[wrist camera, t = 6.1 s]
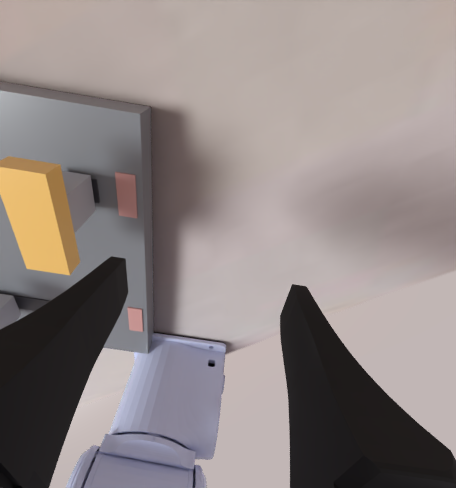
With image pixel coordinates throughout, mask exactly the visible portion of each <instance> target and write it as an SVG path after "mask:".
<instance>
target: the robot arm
mask: <svg viewBox="0 0 456 488" xmlns="http://www.w3.org/2000/svg"><path fill="white" fill-rule="evenodd" d="M127 295H128V281H127V270H126V258H119V257H113V256H111V257H110V258H108V259H107V260H106V261H104V262H103V263H102V264H100V265H99V266H98V267H97V268H95V269H94V270H93V271H91V272H90V273H89V274H87V275H86V276H85V277H84V278H82V279H81V280H80V281H78V282H77V283H75V284H74V285H73V286H71V287H70V288H69V289H67V290H66V291H64V292H63V293H61V294H60V295H58V296H57V297H55V298H54V299H53V300H51V301H50V302H48V303H46V304H45V305H43V306H42V307H40V308H39V309H37V310H35V311H33V312H32V313H30V314H28V315H27V316H25V317H23V318H21V319H19V320H18V321H16V322H14V323H12V324H10V325H8V326H6V327H4V328H2V329H0V488H49V486H50V482H51V479H52V476H53V473H54V470H55V467H56V464H57V461H58V458H59V455H60V452H61V449H62V446H63V444H64V441H65V438H66V435H67V432H68V430H69V427H70V424H71V421H72V418H73V416H74V413H75V411H76V408H77V406H78V403H79V400H80V398H81V395H82V393H83V390H84V388H85V385H86V383H87V380H88V378H89V375H90V373H91V371H92V368H93V366H94V364H95V362H96V360H97V358H98V356H99V354H100V352H101V350H102V349H103V347H104V345H105V343H106V341H107V339H108V337H109V335H110V333H111V331H112V330H113V328H114V326H115V324H116V322H117V320H118V318H119V316H120V314H121V311H122V309H123V306H124V304H125V301H126V298H127ZM280 332H281V345H282V351H283V359H284V366H285V373H286V381H287V389H288V399H289V424H290V488H456V460H455V458H454V456H453V454H452V452H451V451H450V450H449V449H448V448H447V447H446V446H444V445H443V444H442V443H441V442H440V441H438V440H437V439H436V438H435V437H434V436H432V435H431V434H430V433H429V432H427V431H426V430H425V429H424V428H423V427H422V426H420V425H419V424H418V423H417V422H416V421H415V420H414V419H413V418H412V417H411V416H409V415H408V414H407V413H406V412H405V411H404V410H403V409H402V408H401V407H400V406H399V405H397V403H396V402H394V401H393V400H392V399H391V398H390V397H389V396H388V395H387V394H386V393H385V392H384V391H383V390H382V388H381V387H380V386H379V385H378V384H377V383H376V382H375V381H374V380H373V379H372V378H371V377H370V376H369V375H368V374H367V373H366V371H365V370H364V369H363V368H362V367H361V365H359V363H358V362H357V361H356V360H355V358H354V357H353V356H352V355H351V353H350V352H349V351H348V350H347V348H346V347H345V346H344V344H343V343H342V341H341V340H340V339H339V337H338V336H337V334H336V333H335V332H334V330H333V329H332V327H331V326H330V324H329V323H328V321H327V320H326V318H325V316H324V315H323V313H322V312H321V310H320V308H319V307H318V305H317V303H316V302H315V300H314V298H313V297H312V295H311V293H310V292H309V290H308V288H307V287H306V286H300V285H293V284H292V286H291V289H290V292H289V294H288V297H287V300H286V302H285V305H284V307H283V310H282V313H281V315H280ZM225 352H226V345H225V344H224V343H219V342H213V341H206V340H199V339H192V338H186V337H179V336H172V335H165V334H159V333H153V335H152V344H151V347H150V350H149V353H148V354H144V353H138V352H134V358H135V363H134V366H133V368H132V371H131V374H130V377H129V379H128V382H127V385H126V388H125V390H124V393H123V396H122V399H121V401H120V404H119V407H118V410H117V413H116V415H115V418H114V420H113V423H112V426H111V429H110V431H109V434H105V436H104V439H103V441H102V444H101V447H99V446H96V445H93V446H91V447H90V449H88V450H87V451H85V452H84V453H83V454H82V455H81V456H80V458H79V460H78V462H77V464H76V466H75V468H74V470H73V472H72V474H71V476H70V478H69V481H68V483H67V486H66V488H207V487H206V486H207V485H206V478H205V475H204V474H203V472H202V468H201V467H200V466H199V465H194V462H195V459H207V460H208V459H212V458H213V456H214V451H215V446H216V440H217V433H218V424H219V416H220V407H221V395H222V393H223V389H224V381H225V376H224V375H223V372H224V360H225Z"/></svg>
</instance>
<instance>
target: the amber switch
mask: <svg viewBox="0 0 456 488" xmlns="http://www.w3.org/2000/svg"><path fill="white" fill-rule="evenodd" d="M0 195H1V198H2V201H3V203H4V206H5V209H6V212H7V215H8V218H9V220H10V223H11V226H12V229H13V232H14V234H15V237H16V240H17V243H18V246H19V249H20V251H21V254H22V257H23V260H24V263H25V265H26V268H27V269H31V270H38V271H44V272H51V273H57V274H64V275H71V273H72V272H73V271H74V269H75V268H76V267H77V266H78V264H79V263H80V258H79V253H78V248H77V243H76V238H75V232H76V231H77V230H78V229H79V228H80V227H81V226H82V225H83V224H84V223H85V222H86V220H87V219H88V218H89V217H90V216H91V215H92V214H93V213H94V212H95V211H96V210H95V203H94V196H93V189H92V182H91V175H86V174H79V173H73V172H67V171H62V170H61V165H60V164H54V163H48V162H42V161H36V160H29V159H23V158H17V157H11V156H8V157H6V158H4V159H2V160H0Z"/></svg>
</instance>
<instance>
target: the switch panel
mask: <svg viewBox="0 0 456 488" xmlns="http://www.w3.org/2000/svg"><path fill="white" fill-rule="evenodd" d="M8 156H11V157H17V158H23V159H29V160H36V161H42V162H48V163H54V164H60V165H61V170H62V171H67V172H73V173H79V174H86V175H91V182H92V189H93V196H94V203H95V210H96V211H95V212H94V213H93V214H92V215H91V216H90V217H89V218H88V219H87V220H86V222H85V223H84V224H83V225H82V226H81V227H80V228H79V229H78V230H77V231H76V232H75V238H76V243H77V248H78V253H79V258H80V263H79V264H78V266H77V267H76V268H75V269H74V271H73V272H72V273H71V275H64V274H57V273H51V272H44V271H38V270H31V269H27V268H26V265H25V263H24V260H23V257H22V254H21V251H20V249H19V246H18V243H17V240H16V237H15V234H14V232H13V229H12V226H11V223H10V220H9V218H8V215H7V212H6V209H5V206H4V203H3V201H2V198H1V195H0V294H5V295H11V296H14V299H15V301H16V303H17V306H18V308H19V311H20V313H21V316H20V317H19V318H18V319H17V321H18V320H19V319H21V318H23V317H25V316H27V315H28V314H30V313H32V312H33V311H35V310H37V309H39V308H40V307H42V306H43V305H45V304H46V303H48V302H50V301H51V300H53V299H54V298H55V297H57V296H58V295H60V294H61V293H63V292H64V291H66V290H67V289H69V288H70V287H71V286H73V285H74V284H75V283H77V282H78V281H80V280H81V279H82V278H84V277H85V276H86V275H87V274H89V273H90V272H91V271H93V270H94V269H95V268H97V267H98V266H99V265H100V264H102V263H103V262H104V261H106V260H107V259H108V258H110V257H111V256H113V257H119V258H126V270H127V281H128V295H127V298H126V301H125V304H124V306H123V309H122V311H121V314H120V316H119V318H118V320H117V322H116V324H115V326H114V328H113V330H112V331H111V333H110V335H109V337H108V339H107V341H106V343H105V345H104V347H103V348H110V349H117V350H124V351H131V352H138V353H144V354H148V353H149V350H150V347H151V344H152V335H153V333H154V299H153V225H152V150H151V107H149V106H143V105H137V104H131V103H126V102H120V101H114V100H108V99H102V98H96V97H90V96H84V95H78V94H72V93H66V92H61V91H55V90H49V89H43V88H37V87H31V86H25V85H19V84H13V83H7V82H1V81H0V160H2V159H4V158H6V157H8Z"/></svg>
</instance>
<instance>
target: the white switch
mask: <svg viewBox="0 0 456 488" xmlns="http://www.w3.org/2000/svg"><path fill="white" fill-rule="evenodd" d="M20 316H21V313H20V311H19V308H18V306H17V303H16V301H15V299H14V296H11V295H5V294H0V329H2V328H4V327H6V326H8V325H10V324H12V323H14V322H16V321H17V319H18V318H19V317H20Z"/></svg>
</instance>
